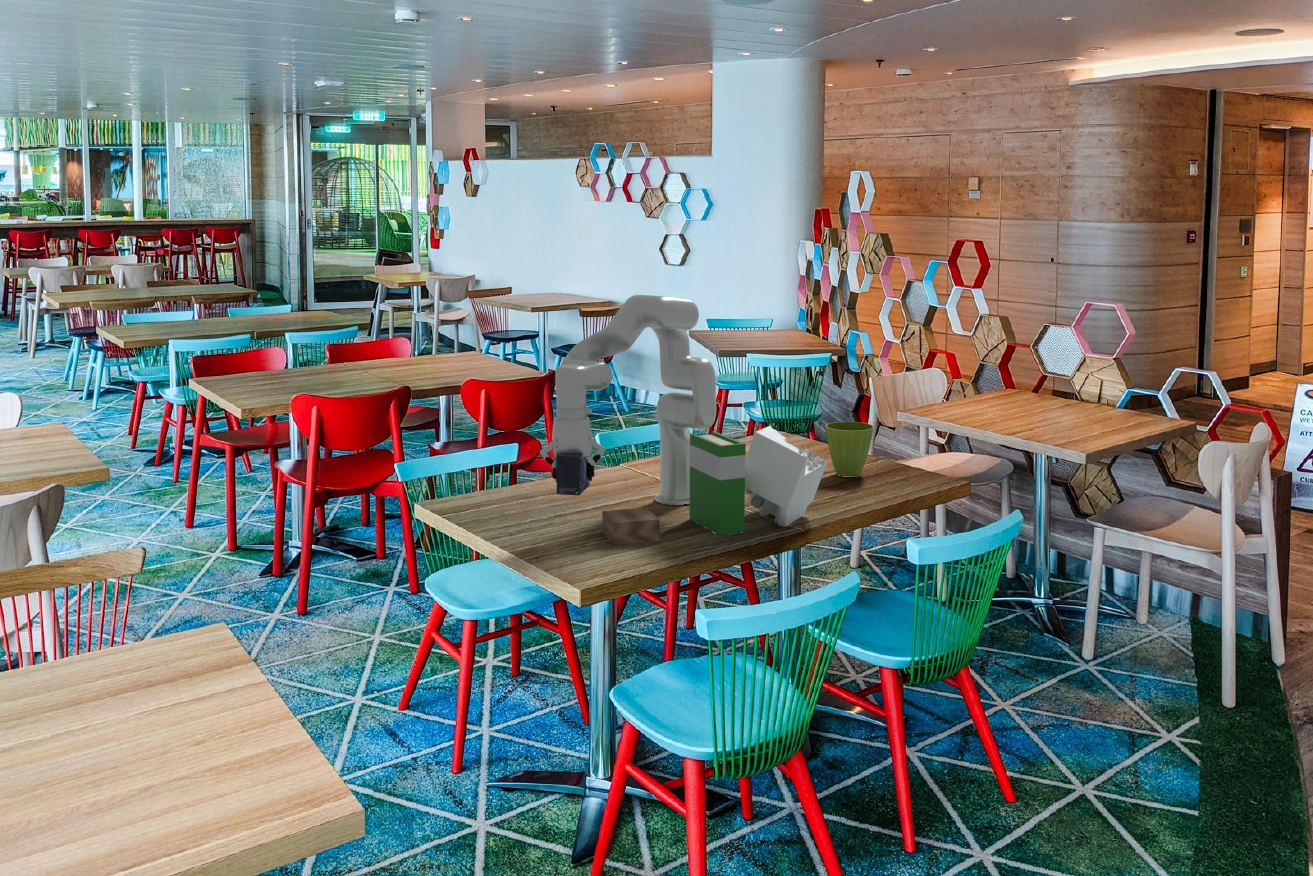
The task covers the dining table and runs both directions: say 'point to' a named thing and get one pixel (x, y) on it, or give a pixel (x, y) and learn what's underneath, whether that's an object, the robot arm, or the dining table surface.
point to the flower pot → (849, 446)
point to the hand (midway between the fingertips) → (573, 480)
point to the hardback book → (717, 483)
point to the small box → (571, 473)
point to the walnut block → (630, 525)
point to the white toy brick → (781, 476)
